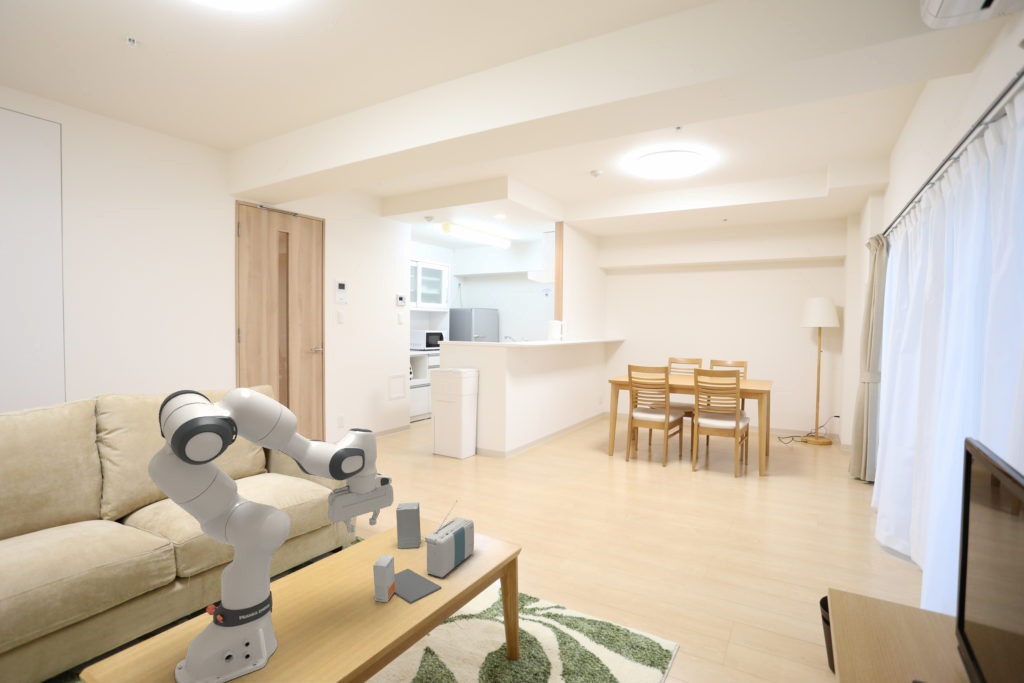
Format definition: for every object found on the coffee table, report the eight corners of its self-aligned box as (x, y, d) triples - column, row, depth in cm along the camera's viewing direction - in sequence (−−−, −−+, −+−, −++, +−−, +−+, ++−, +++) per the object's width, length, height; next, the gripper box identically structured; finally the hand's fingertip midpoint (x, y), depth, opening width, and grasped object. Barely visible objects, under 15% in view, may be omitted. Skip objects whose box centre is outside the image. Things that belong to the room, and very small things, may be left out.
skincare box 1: (387, 603, 151) (385, 566, 149) (374, 601, 152) (372, 565, 150) (396, 590, 157) (394, 555, 155) (383, 589, 158) (381, 554, 156)
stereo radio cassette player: (443, 580, 164) (443, 521, 164) (423, 575, 168) (423, 517, 167) (475, 554, 183) (475, 501, 183) (456, 550, 187) (456, 498, 186)
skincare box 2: (420, 541, 195) (420, 501, 194) (418, 549, 188) (418, 508, 187) (399, 541, 194) (399, 501, 194) (396, 549, 187) (395, 508, 187)
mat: (410, 603, 150) (410, 602, 150) (377, 583, 162) (377, 581, 162) (441, 588, 159) (441, 586, 159) (407, 570, 171) (407, 568, 171)
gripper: (334, 493, 137) (334, 542, 138) (396, 476, 153) (396, 521, 153) (323, 488, 142) (323, 535, 142) (384, 472, 157) (384, 516, 157)
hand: (361, 528), depth 148 cm, fingers open, 6 cm apart
